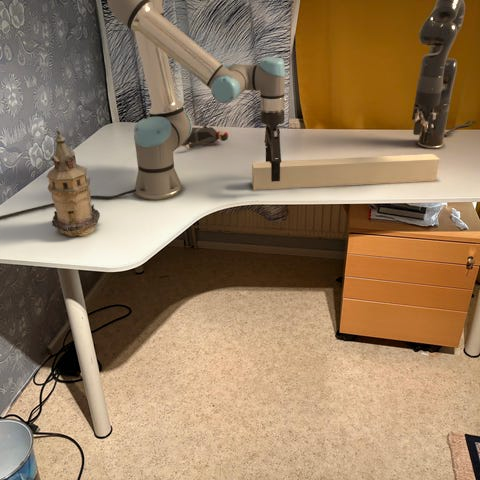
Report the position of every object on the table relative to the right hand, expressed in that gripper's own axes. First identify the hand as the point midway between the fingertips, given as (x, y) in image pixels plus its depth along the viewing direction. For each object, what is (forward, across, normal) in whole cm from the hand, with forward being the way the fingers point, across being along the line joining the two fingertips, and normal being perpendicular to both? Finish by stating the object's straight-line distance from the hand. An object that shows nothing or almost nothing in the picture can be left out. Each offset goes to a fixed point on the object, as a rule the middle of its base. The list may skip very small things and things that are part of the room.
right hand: (421, 138), depth 177 cm
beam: (+14, 0, +25) cm, 29 cm away
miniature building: (+14, -24, +110) cm, 113 cm away
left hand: (+10, 0, +50) cm, 50 cm away
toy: (+14, +48, +76) cm, 91 cm away
